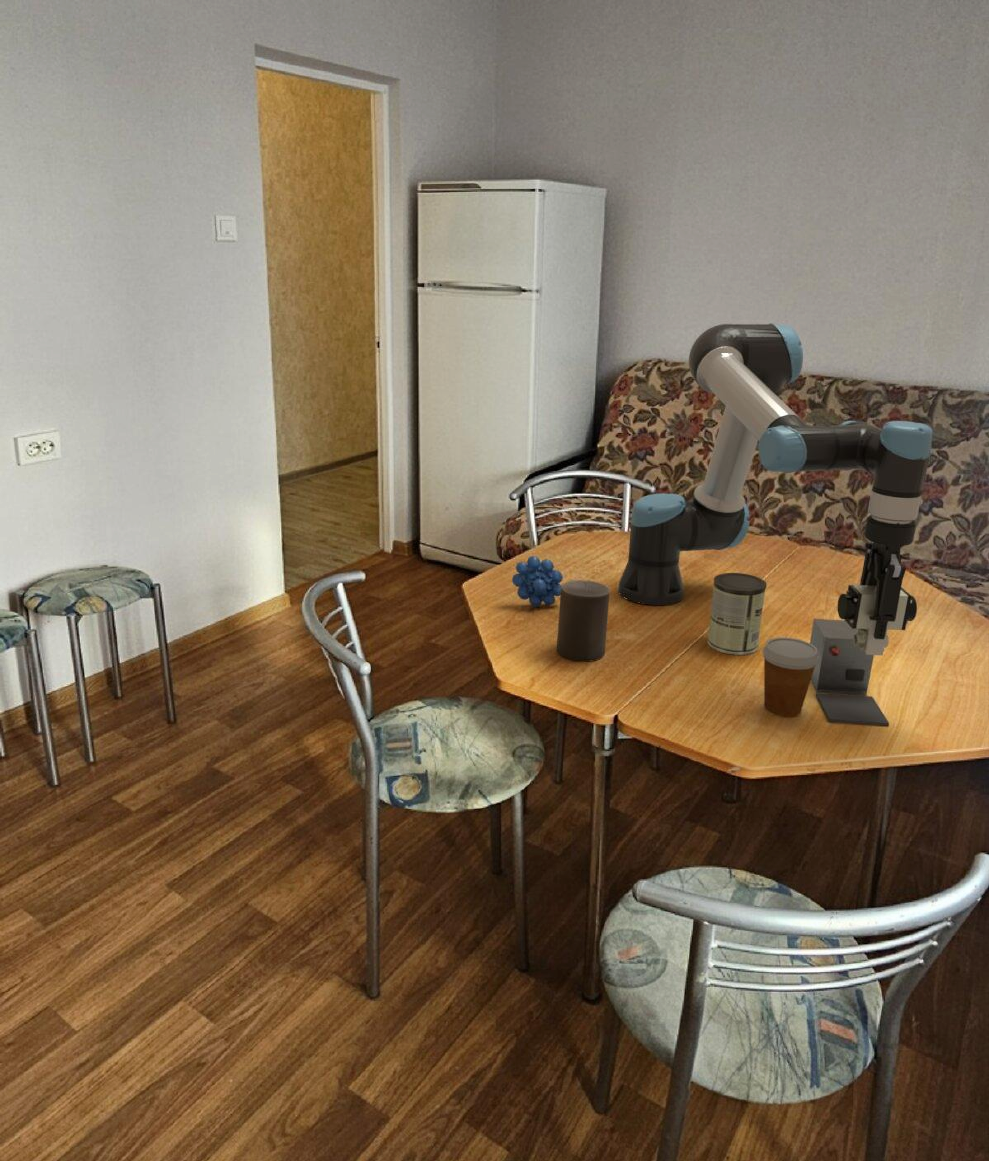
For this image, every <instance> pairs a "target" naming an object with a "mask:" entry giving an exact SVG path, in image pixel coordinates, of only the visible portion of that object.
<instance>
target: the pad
mask: <svg viewBox="0 0 989 1161" xmlns="http://www.w3.org/2000/svg"><path fill="white" fill-rule="evenodd" d="M815 697H816V699H817V701H818V703H819V706H820V707H821V709H822V711H823V713H824V715H825V718H827V721H828V723H835V724H848V725H849V724H851V725H863V726H864V725H865V726H867V725H868V726H880V727H889V725H890V722H889V721H888V719H887V717H886V716H885V714H884V713H883V711H882V710H881V708H880V707H879V705H878V703H877V702H876V700H875V699H874V697H873V696H872V695H871V696H870V695H854V694H839V693H823V692H816V693H815Z"/></svg>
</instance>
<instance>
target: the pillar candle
mask: <svg viewBox="0 0 989 1161" xmlns="http://www.w3.org/2000/svg"><path fill="white" fill-rule="evenodd" d="M610 591H611V589H610V587H609V586H607V585H606V584H603V583H600V582H598V581H592V580H584V579H581V580H576V579H575V580H570V581H566V582H564V583H562V584H561V595H560V597H559V611H558V625H557V626H558V627H557V635H556V636H557V639H556V651H557V654H559V656H561V657H562V658H565V659H567V660H571V661H574V662H575V661H576V662H581V661H586V662H592V661H591V660H594V661H596V659H598V660H600V659H602V658H603V657H604V656H605V652H606V641H607V630H608V617H609V607H610V606H609V604H610V594H611V592H610ZM603 655H604V656H603ZM602 656H603V657H602ZM601 657H602V658H601Z"/></svg>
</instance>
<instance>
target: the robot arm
mask: <svg viewBox="0 0 989 1161" xmlns="http://www.w3.org/2000/svg"><path fill="white" fill-rule="evenodd" d="M803 362H804V352H803V347H802V341H801V338H800V337H799V334H798V333H797V332H796V330H794V328H792V327H791V326H789V325H785V324H775V323H767V324H765V323H764V324H763V323H762V324H758V323H752V324H749V323H748V324H745V323H744V324H741V323H740V324H739V323H737V324H732V323H722V324H719V325H714V326H711V327H710V328H708V329H707V330H705V331H704V332H701V334H700V335H699V336H698V337H697V338H696V339H695V341H694V342H693V344H692V346H691V349H690V351H689V355H688V368H689V371H690V372H689V373H690V374H691V376H692V378H693V380H694V381H695V382H696V384H697V385H698V386H699V387H700V388H701V389H702V390H703V391H705V392H707V393H709V394H714V395H715V396H716V397H717V399H719V400H720V401H721V402H722V403H723V404H724V405H725V408H724V411H723V415H722V418H721V422H720V424H719V428H718V432H717V436H716V439H715V442H714V446H713V449H712V453H711V457H710V460H709V463H708V467H707V471H706V474H705V477H704V481H703V484H699V485H698V486H697V487H696V488H695V489H694V492H693V495H692V498H691V499H690V500H685V497H683V496H682V495H679V494H677V493H664V492H663V493H653V494H648V495H646V496H642V497H640V498H637V500H636V501H635V502H634V504H633V507H632V513H631V516H630V534H629V546H628V547H629V548H628V557H627V558H628V560H627V562H626V565H625V567H624V570H623V572H622V574H621V577H620V579H619V581H618V590H617V591H618V594H619V593H620V594H619V595H620V596H621V597H622V598H623V597H625V598H627V599H629V600H631V601H630V602H632V601H633V602H632V603H636V602H640V603H644V604H643V605H646V604H650V605H649V606H667V604H669V605H673V604H672V603H674V604H676V602H677V603H678V602H681V601H682V600H683V598H684V592H685V591H684V590H685V587H684V583H683V579H682V574H681V570H680V566H679V564H680V556H681V552H692V551H695V552H696V551H709V550H715V551H721V550H725V549H732V548H735V547H738V546H739V545H740V544H741V543H742V542H743V541H744V539H745V538H746V535H747V534H748V531H749V527H750V521H749V519H750V512H749V508H748V507H749V506H748V505H747V504H746V500H745V498H744V496H743V495H742V492H743V488H744V485H745V482H746V478H747V475H748V473H749V470H750V466H751V463H752V459H753V457H754V454H755V451H756V447H757V444H758V448H757V450H758V457H759V458H760V463H761V465H762V466H763V467H764V468H765V469H766V470H767V471H770V472H777V473H779V472H781V473H786V474H791V473H795V472H796V473H798V472H814V471H815V472H818V471H848V470H849V471H850V470H851V471H852V470H858V471H863V472H865V473H868V474H870V475H873V476H874V477H873V483H872V487H871V490H870V495H869V496H870V498H869V503H868V508H867V512H868V513H869V515H868V516H867V517H866V522H865V529H864V538H865V539H866V540H867V541H866V544H865V553H864V560H863V564H862V565H863V566H862V569H861V570H862V571H861V576H860V582H859V585H867V586H877V587H876V595H877V597H876V603H875V611H874V616H869V619H870V620H871V625H870V629H869V633H868V638H867V644H866V650H865V654H866V655H874V656H882V657H883V654H884V651H885V648H884V645H885V640H886V635H887V636H888V630H887V629H888V624H889V621H891V622H894V621H895V619H896V613H897V608H898V602H899V597H900V591H901V587H902V585H903V578H904V577H905V573H906V570H907V566H906V565H903V564H901V563H902V555H901V548H903V547H905V546H909V545H911V544H913V542H914V539H915V533H916V527H917V523H916V521H915V520H916V519H917V518H918V515H919V509H920V506H921V505H923V503H924V499H922V495H923V491H924V485H925V481H926V476H927V471H928V470H927V469H928V466H929V460H930V456H931V455H932V444H933V443H932V440H933V432H934V431H933V429H932V427H930V425H927V424H924V423H922V422H913V421H907V420H906V421H905V420H891V421H887V422H886V423H884V424H883V426H882V427H877V426H876V425H875V426H874V425H873V424H870V423H867V422H865V421H855V420H847V421H844V422H842V423H839V424H838V425H809V424H807V423H806V422H805V421H804V419H801V417H800V416H799V415H798V414H796V412H794V411H793V410H792V409H791V408H790V407H789V406H788V404H786V403H785V402H784V401H783V400H782V399H781V398H780V396H781V394H782V390H783V387H784V385H785V384H787V385H789V384H791V383H793V382H795V381H796V380H798V378H799V377H800V375H801V371H802V369H803ZM625 598H624V599H625ZM627 599H626V600H627ZM629 600H628V601H629ZM640 603H639V604H640ZM856 633H859V632H858V631H857V632H856Z"/></svg>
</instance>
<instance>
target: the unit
mask: <svg viewBox="0 0 989 1161" xmlns="http://www.w3.org/2000/svg"><path fill="white" fill-rule="evenodd" d="M856 632H857V629H852V628H851V627H850V625H849V624H848V623H847V622H846V621H845V620H844V619H826V618H813V622H812V627H811V633H810V641H809V643H810V644H812V645H813V646H815V647H816V648H817V651H818V655H819V661H818V663H817V665H816V666H815V668H814V671H813V674H812V678H811V681H810V684H812V687H813V689H814V690H815V692H816V693H829V694H844V695H859V696H868V695H867V694H868V688H869V684H870V683H869V682H870V678H871V674H872V673H871V672H872V669H873V668H872V667H873V663H874V657H875V655H866V654H865V652H862V651H860V647H856V646H855V645H854V643H853V636H854V634H855V633H856Z"/></svg>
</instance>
